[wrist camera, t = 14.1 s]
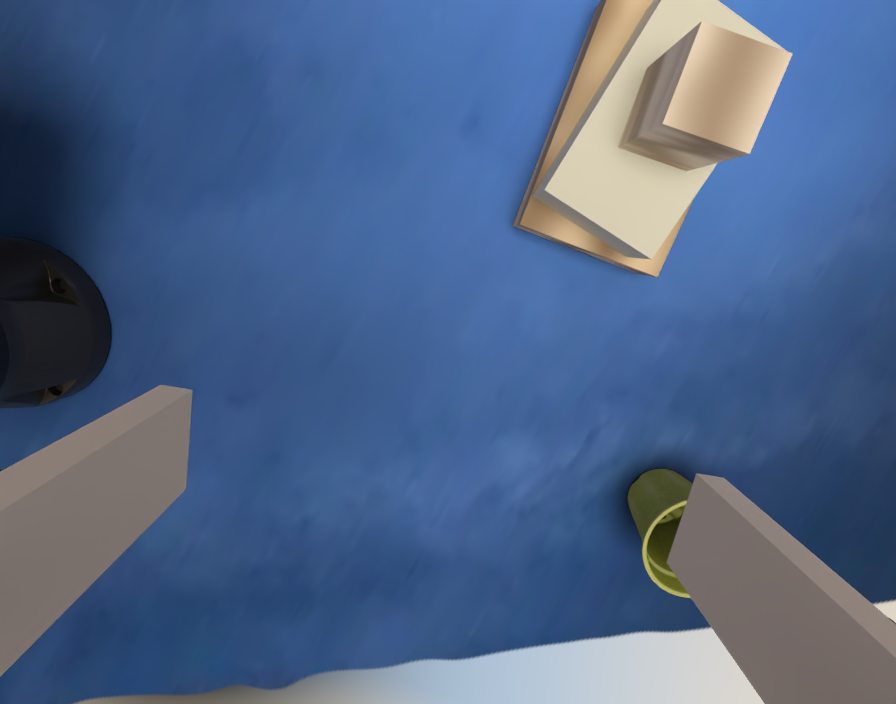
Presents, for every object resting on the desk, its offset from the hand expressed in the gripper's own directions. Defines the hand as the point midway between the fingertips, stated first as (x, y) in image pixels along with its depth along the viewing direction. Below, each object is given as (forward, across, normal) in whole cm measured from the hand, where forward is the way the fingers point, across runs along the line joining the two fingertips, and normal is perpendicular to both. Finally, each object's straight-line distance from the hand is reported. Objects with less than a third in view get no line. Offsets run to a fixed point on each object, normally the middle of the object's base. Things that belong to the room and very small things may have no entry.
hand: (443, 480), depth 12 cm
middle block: (+28, -12, -16) cm, 34 cm away
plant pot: (+32, -25, +15) cm, 43 cm away
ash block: (+23, -12, -16) cm, 30 cm away
